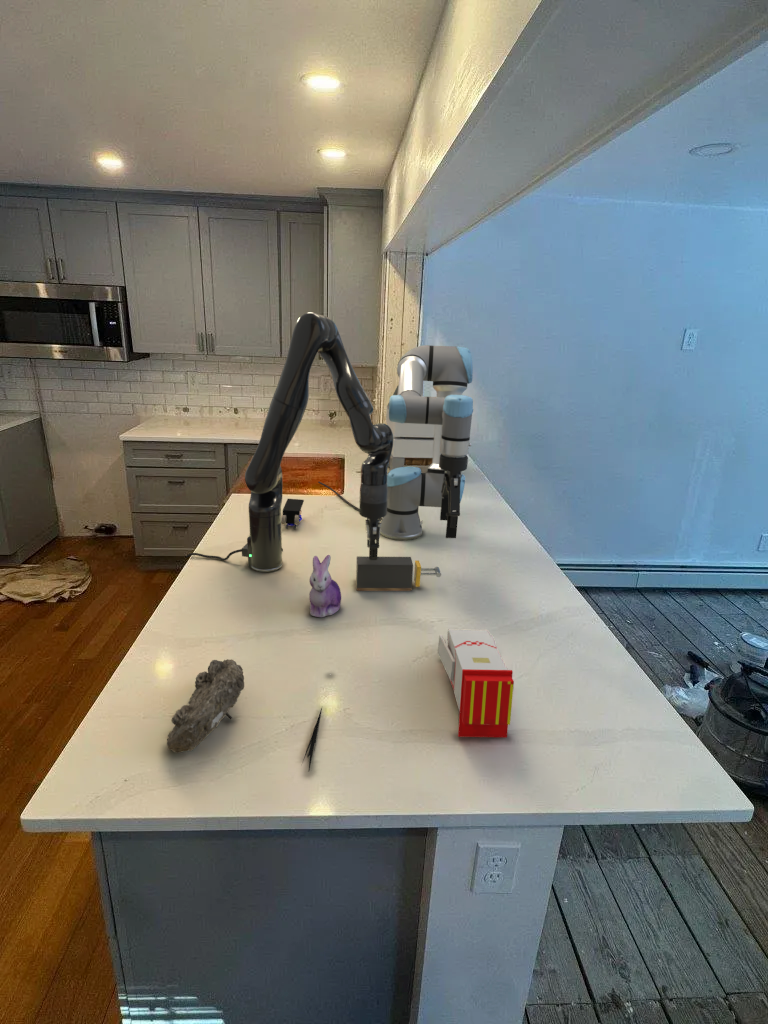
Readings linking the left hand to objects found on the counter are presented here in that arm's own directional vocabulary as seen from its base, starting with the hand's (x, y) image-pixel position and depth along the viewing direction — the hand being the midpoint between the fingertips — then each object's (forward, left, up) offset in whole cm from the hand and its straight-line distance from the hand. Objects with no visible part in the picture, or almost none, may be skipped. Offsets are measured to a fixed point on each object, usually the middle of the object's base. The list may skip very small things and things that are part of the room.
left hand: (372, 553), depth 158 cm
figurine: (-7, -17, -10) cm, 21 cm away
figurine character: (-41, +35, -10) cm, 55 cm away
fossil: (-12, -63, -10) cm, 64 cm away
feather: (+8, -57, -10) cm, 58 cm away
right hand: (+19, +8, +7) cm, 22 cm away
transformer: (-13, +121, -10) cm, 122 cm away
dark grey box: (+3, +1, -10) cm, 11 cm away
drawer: (+9, +3, -9) cm, 13 cm away
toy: (+34, -38, -10) cm, 52 cm away
